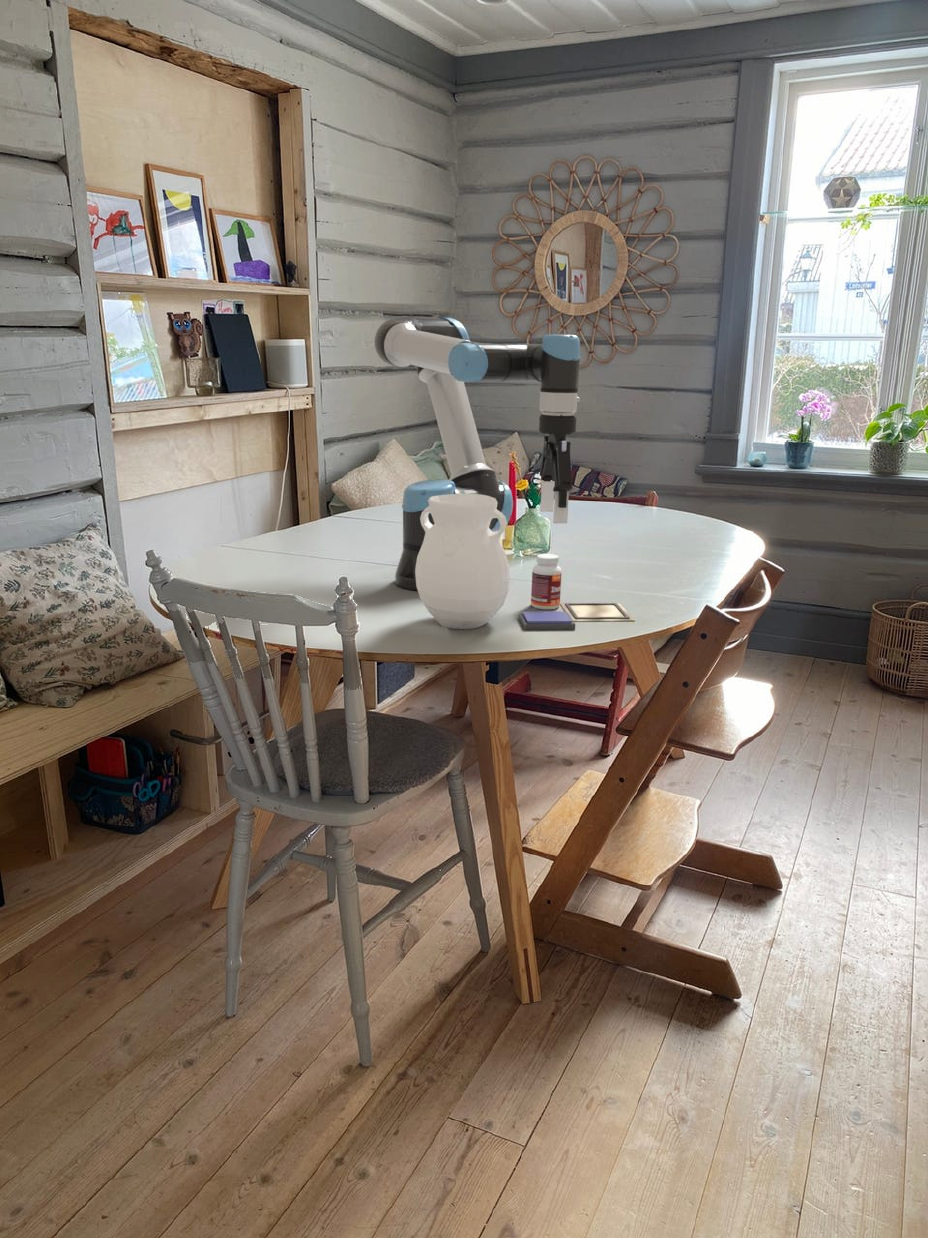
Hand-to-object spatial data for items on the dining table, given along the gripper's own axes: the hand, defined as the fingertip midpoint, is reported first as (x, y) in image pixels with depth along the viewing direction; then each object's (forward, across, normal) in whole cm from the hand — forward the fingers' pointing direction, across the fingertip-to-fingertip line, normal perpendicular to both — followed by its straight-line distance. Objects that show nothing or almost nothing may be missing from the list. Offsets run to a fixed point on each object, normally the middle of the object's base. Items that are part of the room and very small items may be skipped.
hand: (553, 517), depth 199 cm
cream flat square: (+19, -7, -9) cm, 22 cm away
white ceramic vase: (+19, -13, +20) cm, 31 cm away
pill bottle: (+19, -1, +1) cm, 19 cm away
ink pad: (+19, -14, +4) cm, 24 cm away
